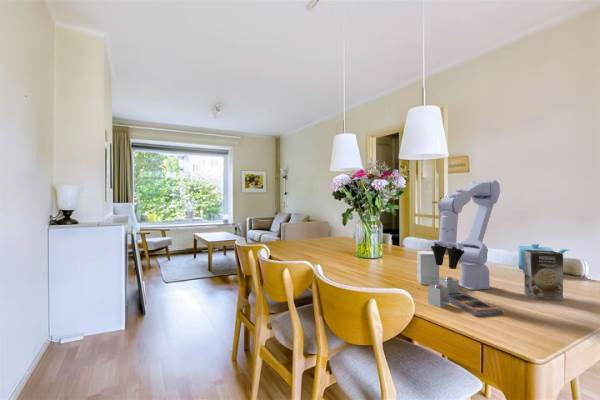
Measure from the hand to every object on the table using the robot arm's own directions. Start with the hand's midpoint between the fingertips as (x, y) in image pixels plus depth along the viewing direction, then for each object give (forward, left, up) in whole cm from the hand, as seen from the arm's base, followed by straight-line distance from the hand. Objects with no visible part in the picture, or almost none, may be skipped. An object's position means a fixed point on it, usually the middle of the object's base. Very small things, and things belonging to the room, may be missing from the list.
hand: (445, 266), depth 107 cm
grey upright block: (+8, +7, -10) cm, 15 cm away
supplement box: (-3, -16, -11) cm, 19 cm away
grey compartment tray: (-1, +7, -10) cm, 13 cm away
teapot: (-62, -18, -11) cm, 65 cm away
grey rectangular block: (-1, 0, -10) cm, 10 cm away
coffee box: (-31, +9, -11) cm, 34 cm away
